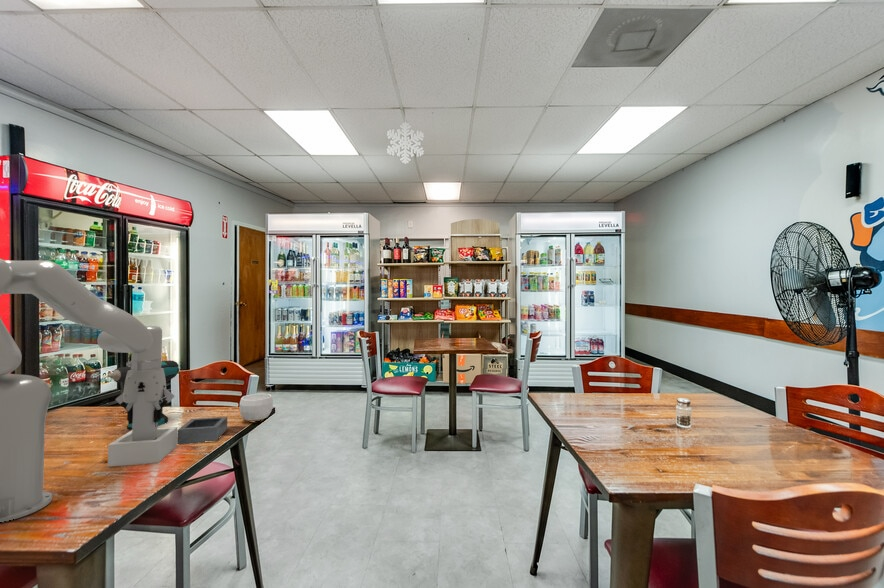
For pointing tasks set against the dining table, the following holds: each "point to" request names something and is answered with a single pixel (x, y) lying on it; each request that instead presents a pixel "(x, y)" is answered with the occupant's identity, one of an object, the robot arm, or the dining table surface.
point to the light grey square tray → (142, 448)
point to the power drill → (170, 372)
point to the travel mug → (143, 418)
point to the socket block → (202, 430)
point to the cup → (256, 406)
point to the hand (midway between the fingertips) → (144, 421)
